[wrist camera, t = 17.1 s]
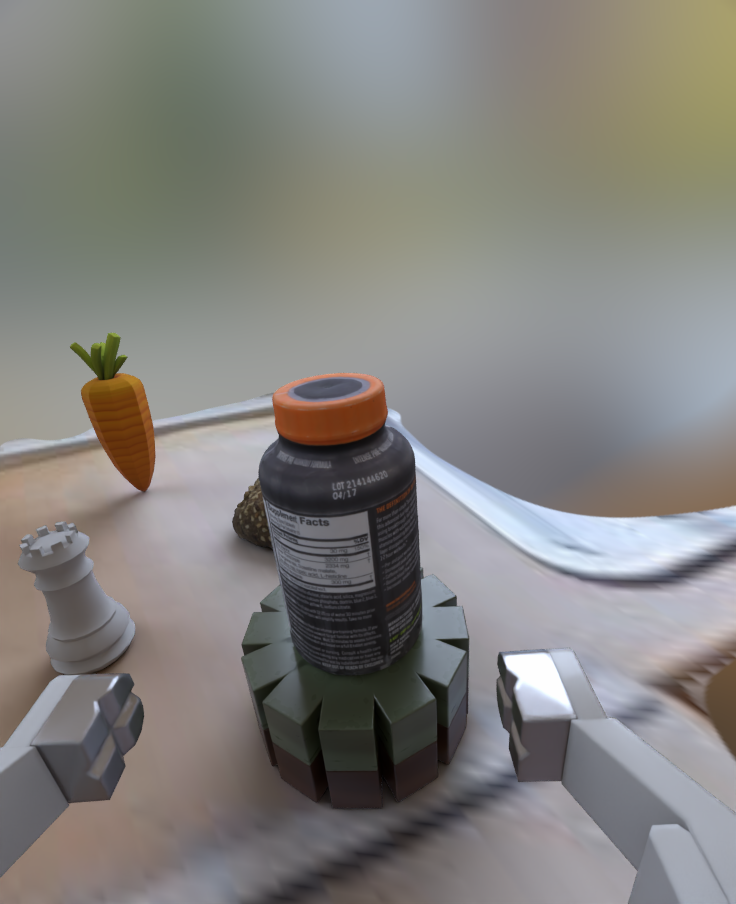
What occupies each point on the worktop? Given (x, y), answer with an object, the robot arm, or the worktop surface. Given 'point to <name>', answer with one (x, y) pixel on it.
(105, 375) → the carrot
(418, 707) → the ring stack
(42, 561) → the rook chess piece
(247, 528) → the bread roll
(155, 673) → the worktop surface
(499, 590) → the worktop surface
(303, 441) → the pill bottle
